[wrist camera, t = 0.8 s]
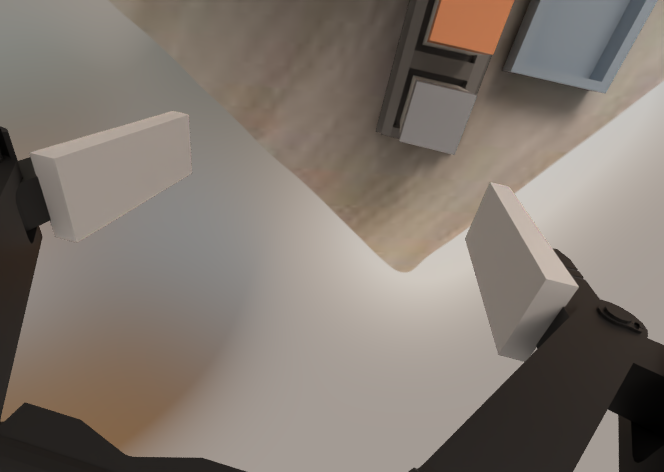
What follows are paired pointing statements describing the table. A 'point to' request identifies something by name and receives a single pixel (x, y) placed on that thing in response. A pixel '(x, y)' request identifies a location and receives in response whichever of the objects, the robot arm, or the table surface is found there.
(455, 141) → the block
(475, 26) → the block
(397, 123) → the block
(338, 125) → the table surface
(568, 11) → the tray
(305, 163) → the table surface
